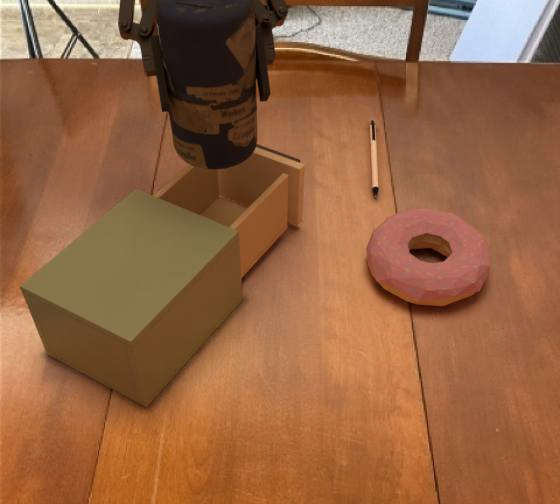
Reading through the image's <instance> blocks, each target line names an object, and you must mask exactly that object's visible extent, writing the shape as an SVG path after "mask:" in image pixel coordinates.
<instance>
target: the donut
mask: <svg viewBox="0 0 560 504" xmlns="http://www.w3.org/2000/svg"><path fill="white" fill-rule="evenodd" d="M422 249H432V250H434V251H436V252H437V253H439V254H440V255H442V256H444V257H446V258H445V260H443V261H438V262H426V261H423V260H420V259H418V258H417V257H416V256H415V255H413V254H412V253H411V252H410V251H411V250H422ZM490 250H491V249H490V246H489V244H488V242H487V241H486V239H485V237H484V236H483V234H482V233H481V231H479V230H478V229H477V228H475V227H474V226H472V225H471V224H469V223H468V222H467V221H466V220H464V219H462V218H461V217H460V216H458V215H457V214H456V213H452V212H445V211H440V210H436V209H428V208H417V209H410V210H405V211H399V212H398V213H395V214H392V215H391V216H388V217H386V218H385V219H384V220H383V221H382V222H381V223H380V224H379V225H378V226H377V227H375V228H374V229H373V230H372V233H371V235H370V237H369V240H368V242H367V244H366V247H365V251H366V261H367V265H368V268H369V271H370V274H371V275H372V276H373V278H374V279H375V282H377V283H378V284H379V285H380V286H381V287H382V288H383V290H385V291H387V292H389V293H391V294H393V296H396V297H398V298H400V299H402V300H404V302H408V303H411V304H414V305H417V306H419V305H420V306H437V307H445V306H447V305H451V304H452V303H456V302H458V301H461V300H463V299H466V298H469V297H471V296H474V294H475V293H477V292H481V289H482V288H483V285H484V284H485V281H486V279H487V277H488V275H489V274H490V270H491V261H490V260H491V259H490V256H491V255H490Z"/></svg>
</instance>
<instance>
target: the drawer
mask: <svg viewBox="0 0 560 504" xmlns="http://www.w3.org/2000/svg"><path fill="white" fill-rule="evenodd" d="M305 165H306V164H304V163H301V160H300V158H297V157H295V156H291V155H289V154H285V153H283V152H281V151H277V150H275V149H272V148H269V147H266V146H265V145H264V146H263V145H261V144H258V143H257V145H256V148H255V150H254V152H253V154H252V155H251V156H250V157H249V158H248V159H247V160H245V161H244V162H242V163H240V164H238V165H236V166H233V167H230V168H225V169H203V168H198V167H195V166H192V165H190V164H188V165H187V166H186V167H185V168H184V169H182V170H181V172H179V173H178V174H177V175H175V176H174V177H173V178H172V179H171V180H170V181H168V182H167V184H165V185H164V186H163V187H161V189H159V190H158V191H157V192H156V193H155V194H154V195H153V196H155V197H157V198H160V199H162V200H164V201H167V202H169V203H172V204H174V205H177V206H179V207H181V208H184V209H186V210H189V211H191V212H194V213H196V214H198V215H201V216H203V217H206V218H208V219H211V220H213V221H215V222H218V223H220V224H223V225H225V226H228V227H230V228H232V229H235V230H237V231H239V242H240V264H241V279H242V278H243V277H244V276H245V275H246V274H247V273H248V272H249V270H250V269H251V268H253V266H254V265H255V264H256V263H257V262H258V261H259V260H260V258H262V257H263V256H264V254H265V253H266V252H267V251H268V250H269V249H270V248H271V247H272V245H273V244H274V243H275V242H276V241H277V240H278V239H279V238H280V237H281V236H282V235H283V233H285V231H286V230H287V229H288V223H289V224H291V225H293V226H296V227H299V226H300V225H301V224H302V222H303V211H304V210H303V208H304V190H305V189H304V188H305V187H304V186H305Z"/></svg>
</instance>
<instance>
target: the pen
mask: <svg viewBox="0 0 560 504" xmlns="http://www.w3.org/2000/svg"><path fill="white" fill-rule="evenodd" d="M376 129H377V127H376V123H375V121H374V120H373V119H372V120H371V121H370V124H369V139H370V164H371V165H370V166H371V190H372V193H373V195H374V197H375V198H377V197H378V193H379V188H380V187H379V170H378V169H379V168H378V149H377V147H378V146H377V130H376Z"/></svg>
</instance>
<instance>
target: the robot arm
mask: <svg viewBox="0 0 560 504" xmlns="http://www.w3.org/2000/svg"><path fill="white" fill-rule="evenodd" d="M253 1H254V7H255V37H256V69H257V79H256V85H257V90H258V95H259V96H258V98H259V102H261V103H262V102H268V100H269V98H270V96H271V92H272V91H271V85H270V79H269V71H268V66H272V65H273V64H274V62H275V58H276V47H275V41H274V36H273V35H274V33H273V29H275V28H277V27H282V26H283V25H284V24H285V21H286V19H287V16H288V14H289V9H288V6H287V3H286V1H285V0H264V3H265V5H266V7H265V5H264V3H263V2H262V1H261V0H253ZM135 8H136V0H119V8H118V17H117V18H118V19H117V24H118V25H117V26H118V31H119V36H120V38H121V39H122V40H124V41H129V40H131V41H134V42H136V43H137V44H138V45H139V48H140V54H141V61H142V66H143V72H144V74H145V76H146V78H148V77H155V78H156V83H157V89H158V95H159V101H160V109H161V113H169V112H168V111H169V99H168V93H167V86H166V80H165V74H164V67H163V60H162V54H161V45H160V38H159V34H157V35H154V33H155V30H156V28H157V26H158V25H157V19H156V0H146V4H145V6H144V9H143V12H142V15H141V18H140V20H139V22H134V20H135V19H134V18H135Z"/></svg>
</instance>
